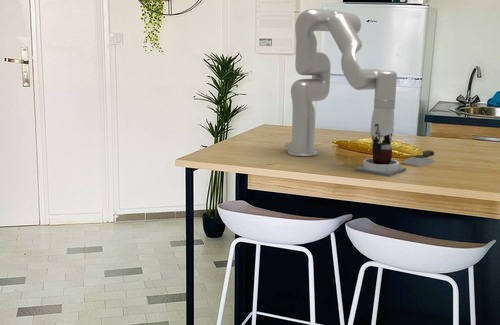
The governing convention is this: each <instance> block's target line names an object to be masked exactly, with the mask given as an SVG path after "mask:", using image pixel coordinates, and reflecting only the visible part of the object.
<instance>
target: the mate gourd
mask: <svg viewBox="0 0 500 325" xmlns="http://www.w3.org/2000/svg"><path fill="white" fill-rule="evenodd" d="M377 135H380V134H377ZM380 144H381V154H373V153H372V158H373V161H374V163H373V164H381V165H389V164H390V161H391V159H392V156H393V149H392V144H391V145H390V144H388V143H382V141H381V142H380Z"/></svg>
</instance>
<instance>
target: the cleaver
mask: <svg viewBox="0 0 500 325" xmlns="http://www.w3.org/2000/svg"><path fill="white" fill-rule="evenodd" d="M422 152H423V155H422V156H416V157H412V156H410V157H409V158H406V159H404V160H403V161H402V162H400V164H401V165H404V166H405V165H406V166H411V167H417V168H422V167H425V166H429V165H431V164H433V163H434V162H435V159H433V158H429V157H431V156H434V155H435V151H434V150H423V151H422Z"/></svg>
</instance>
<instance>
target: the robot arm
mask: <svg viewBox="0 0 500 325" xmlns="http://www.w3.org/2000/svg"><path fill="white" fill-rule="evenodd" d="M294 26H295V27H294V30H295V32H294V33H295V42H296V43H295V64H294V65H295V72H296V73H297V74H298V75H300V76H311V78H302V79H297V80H295V81H294V82H293V83H292V85H291V87H290V98H291V104H292V107H291V108H292V116H291V117H292V122H291V124H292V126H291V142H290V141H289V142H288V141H286V142H285V144H284V147H285V148H289V149H288V150H287V154H288V155H291V156H296V157H314V156H316V155H318V151H317V150H315V134H316V132H315V130H316V111H315V107H314V106H315V105H314V104H313V102H319V101H323V100H325V99H326V98H328V96H329V93H330V86H331V68H332V67H331V61H330V58H329V56H328V55H327V54H326V53H324V52H320V51H317V50H318V49H317V46H318V42H317V37H316V35H315V33H314V32H330V34H331V36H332V39H333V40H334V42H335V44H336V45H337V47H338V50H339V51H340V53H341V59H340V66H341V71H342V72H343V75H344V77H345V79H346V81H347V83H348V84H349V85H350V86H351V87H352V88H353V89H354V90H357V91H364V90H374V99H373V100H374V101H373V103H374V104H373V110H372V115H371V121H370V123H371V124H370V136H371V140H372V142H371V143H372V150H371V151H372V152H371V153H372V155H373V154H381V144H380V142H381V143H388V144H390V145H391V146H392V137H393V133H394V130H395V129H394V127H395V126H394V125H395V111H394V110H395V108H396V94H397V80H398V74H397V72H395V71H394V70H393V71H392V70H380V69H376V68H361V66H360V65H359V63H358V60H357V58H356V53H358V52H359V51H360V50H361V48H362V46H363V43H362V40H361V38H360V37H359V34H358V33H360V31H361V29H362V21H361V20H360V17H359V16H358V15H357V14H355V13H353V12H352V13H350V12H345V11H338V10H335V9H334V10H333V9H323V8H322V9H321V8H309V9H305V10H303V11H302V12H300V14H298V16H297V18H296V20H295V25H294ZM378 134H379V135H378Z"/></svg>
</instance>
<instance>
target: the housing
mask: <svg viewBox="0 0 500 325" xmlns="http://www.w3.org/2000/svg"><path fill="white" fill-rule="evenodd" d="M362 161H363V162H362V165H361V166H357V167H355V168H354V171H355V172H359V173H364V172H365V174H372V175H376V174H377V176H378V175H379V176H384V177H390V178H391V177H393V176H395V175H397V173H398V174H400V173H403V172H406V171H407V167H404V166H400V161H399V160H396V159H392V158H391V161H390V164H389V165H381V164H373V163H374V161H373V157H371V158H369V157H368V158H365V159H363V160H362ZM392 175H393V176H392Z"/></svg>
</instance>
